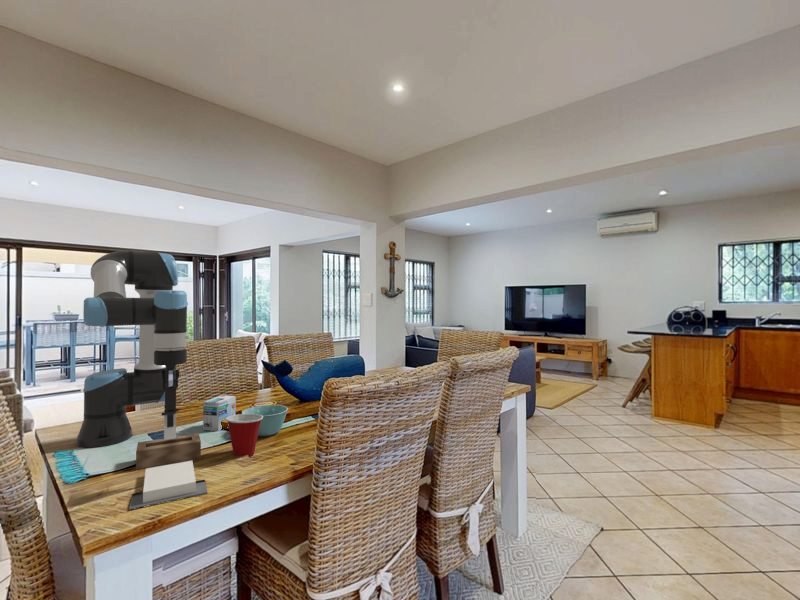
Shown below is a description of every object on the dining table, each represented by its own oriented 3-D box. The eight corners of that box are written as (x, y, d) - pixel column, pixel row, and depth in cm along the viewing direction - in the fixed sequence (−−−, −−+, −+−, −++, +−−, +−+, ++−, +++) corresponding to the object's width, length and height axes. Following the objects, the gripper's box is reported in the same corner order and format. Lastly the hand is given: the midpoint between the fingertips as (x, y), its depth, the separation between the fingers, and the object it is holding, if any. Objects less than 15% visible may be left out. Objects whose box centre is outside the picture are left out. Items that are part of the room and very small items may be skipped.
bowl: (233, 433, 143) (233, 410, 143) (272, 423, 155) (273, 402, 155) (255, 443, 133) (255, 418, 133) (296, 432, 145) (296, 409, 145)
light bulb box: (218, 432, 144) (218, 402, 144) (202, 431, 145) (202, 401, 145) (236, 423, 155) (236, 395, 155) (220, 422, 156) (221, 394, 156)
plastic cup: (270, 451, 126) (270, 413, 126) (244, 464, 116) (244, 423, 116) (244, 446, 130) (245, 409, 130) (217, 458, 120) (217, 418, 120)
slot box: (135, 473, 110) (136, 451, 110) (137, 462, 117) (137, 442, 117) (200, 461, 118) (200, 441, 118) (198, 452, 125) (198, 433, 125)
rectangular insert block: (145, 478, 106) (142, 503, 93) (145, 468, 106) (143, 492, 93) (192, 469, 111) (195, 491, 98) (192, 460, 111) (195, 481, 98)
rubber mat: (129, 510, 90) (129, 508, 90) (135, 476, 108) (135, 475, 108) (207, 493, 98) (207, 491, 98) (201, 464, 116) (201, 463, 116)
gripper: (187, 350, 101) (187, 443, 101) (185, 345, 112) (185, 429, 112) (153, 352, 97) (152, 448, 97) (154, 347, 109) (153, 433, 109)
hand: (170, 438), depth 105 cm, fingers closed
